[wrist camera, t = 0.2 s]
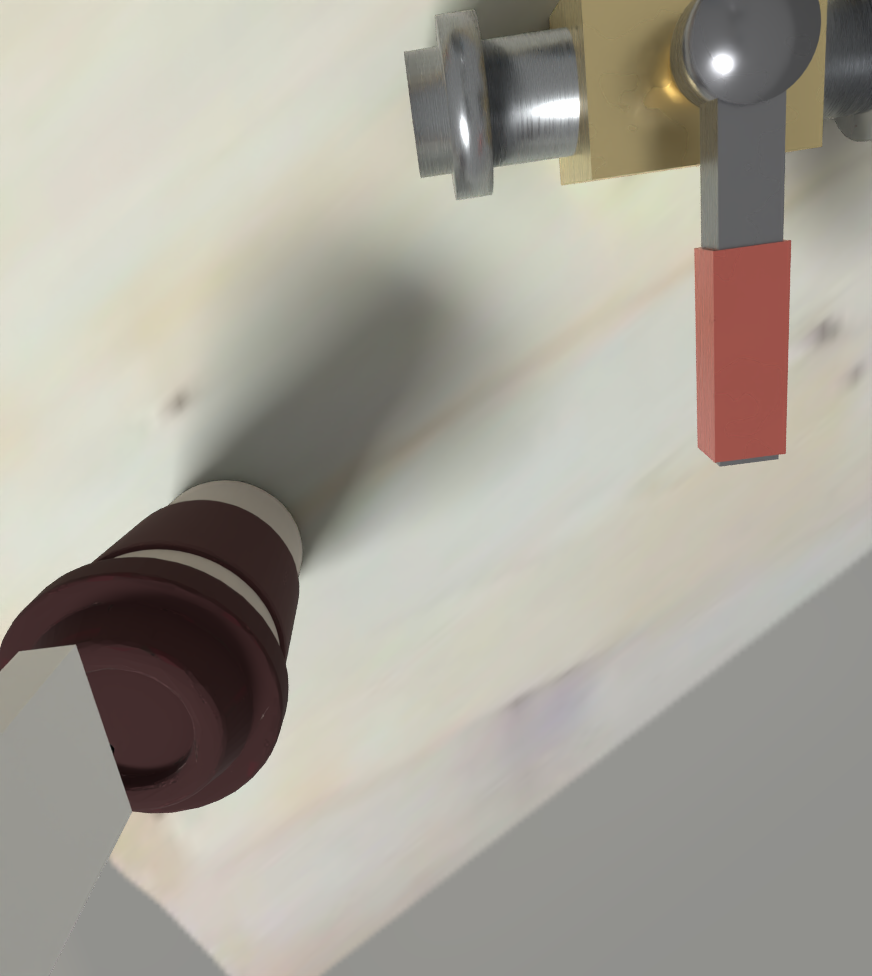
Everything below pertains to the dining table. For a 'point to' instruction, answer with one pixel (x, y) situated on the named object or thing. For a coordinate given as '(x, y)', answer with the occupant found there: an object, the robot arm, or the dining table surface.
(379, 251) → the dining table surface
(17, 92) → the dining table surface
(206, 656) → the coffee cup
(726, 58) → the lever
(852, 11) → the valve
